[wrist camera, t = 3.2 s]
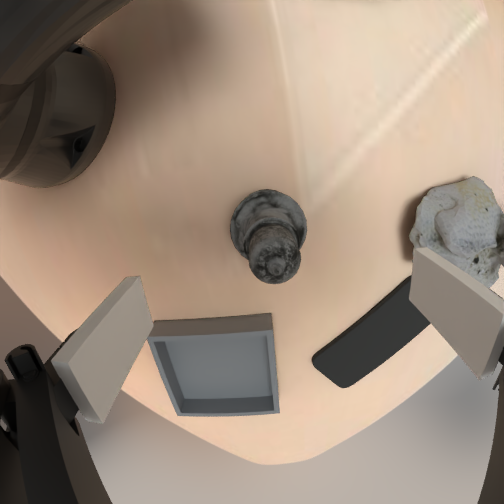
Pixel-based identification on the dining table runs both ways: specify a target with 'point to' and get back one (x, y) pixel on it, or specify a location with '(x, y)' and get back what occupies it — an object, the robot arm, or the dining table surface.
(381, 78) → the dining table surface
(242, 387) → the tray
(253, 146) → the dining table surface
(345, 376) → the phone
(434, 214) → the coral
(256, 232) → the dark chess piece
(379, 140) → the dining table surface
